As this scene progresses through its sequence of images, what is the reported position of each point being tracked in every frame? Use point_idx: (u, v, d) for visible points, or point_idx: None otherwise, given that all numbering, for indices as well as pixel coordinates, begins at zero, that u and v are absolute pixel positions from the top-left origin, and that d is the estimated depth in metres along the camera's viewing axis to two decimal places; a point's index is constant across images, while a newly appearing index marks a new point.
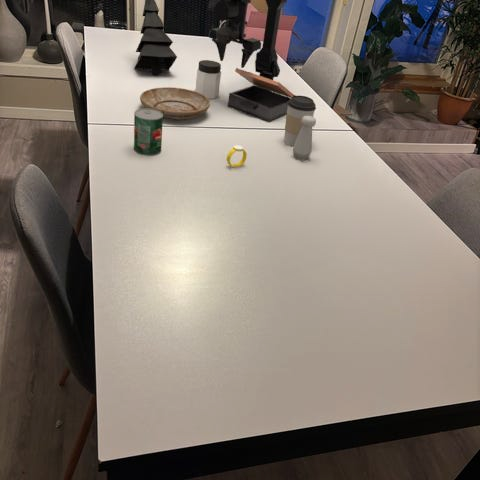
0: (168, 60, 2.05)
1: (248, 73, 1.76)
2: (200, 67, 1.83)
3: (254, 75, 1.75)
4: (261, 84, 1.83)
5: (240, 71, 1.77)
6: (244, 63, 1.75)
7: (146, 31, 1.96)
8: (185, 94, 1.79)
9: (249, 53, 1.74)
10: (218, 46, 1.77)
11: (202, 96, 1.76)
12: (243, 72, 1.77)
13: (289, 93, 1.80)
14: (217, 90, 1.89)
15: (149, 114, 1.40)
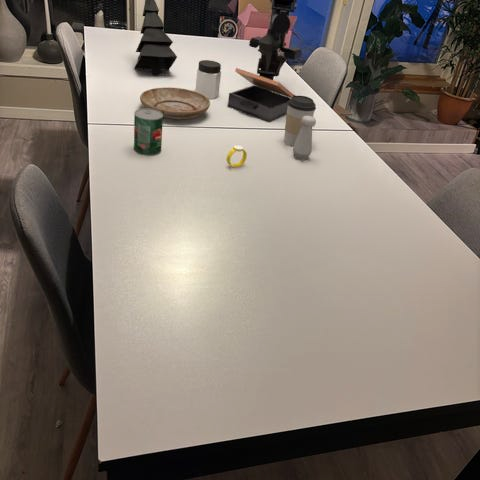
0: (168, 60, 2.05)
1: (248, 73, 1.76)
2: (200, 67, 1.83)
3: (254, 75, 1.75)
4: (261, 84, 1.83)
5: (240, 71, 1.77)
6: (278, 69, 1.79)
7: (146, 31, 1.96)
8: (185, 94, 1.79)
9: (283, 59, 1.78)
10: (264, 56, 1.79)
11: (202, 96, 1.76)
12: (243, 72, 1.77)
13: (289, 93, 1.80)
14: (217, 90, 1.89)
15: (149, 114, 1.40)
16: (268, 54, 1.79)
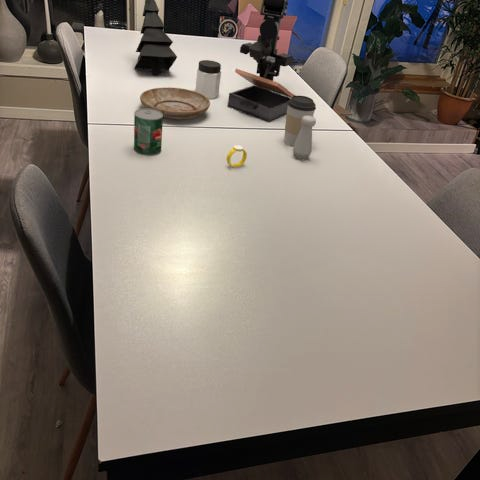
0: (168, 60, 2.05)
1: (248, 74, 1.76)
2: (200, 67, 1.83)
3: (254, 75, 1.75)
4: (261, 84, 1.83)
5: (240, 72, 1.77)
6: (265, 75, 1.77)
7: (146, 31, 1.96)
8: (185, 94, 1.79)
9: (270, 65, 1.75)
10: (259, 64, 1.75)
11: (202, 96, 1.76)
12: (242, 73, 1.77)
13: (289, 93, 1.80)
14: (217, 90, 1.89)
15: (149, 114, 1.40)
16: None
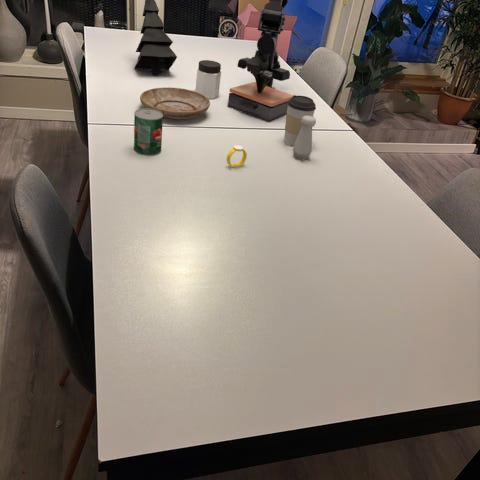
0: (168, 60, 2.05)
1: (242, 94, 1.78)
2: (200, 67, 1.83)
3: (248, 95, 1.77)
4: None
5: (234, 92, 1.79)
6: (262, 89, 1.79)
7: (146, 31, 1.96)
8: (185, 94, 1.79)
9: (267, 79, 1.78)
10: (256, 79, 1.77)
11: (202, 96, 1.76)
12: (237, 93, 1.79)
13: (287, 100, 1.81)
14: (217, 90, 1.89)
15: (149, 114, 1.40)
16: (261, 76, 1.78)
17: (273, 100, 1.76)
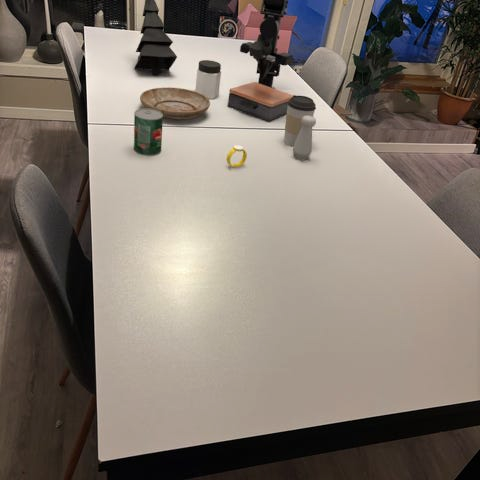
0: (168, 60, 2.05)
1: (242, 94, 1.78)
2: (200, 67, 1.83)
3: (248, 96, 1.77)
4: None
5: (234, 92, 1.79)
6: (265, 74, 1.77)
7: (146, 31, 1.96)
8: (185, 94, 1.79)
9: (270, 64, 1.75)
10: (259, 63, 1.75)
11: (202, 96, 1.76)
12: (236, 93, 1.79)
13: (287, 100, 1.81)
14: (217, 90, 1.89)
15: (149, 114, 1.40)
16: None
17: (273, 100, 1.76)
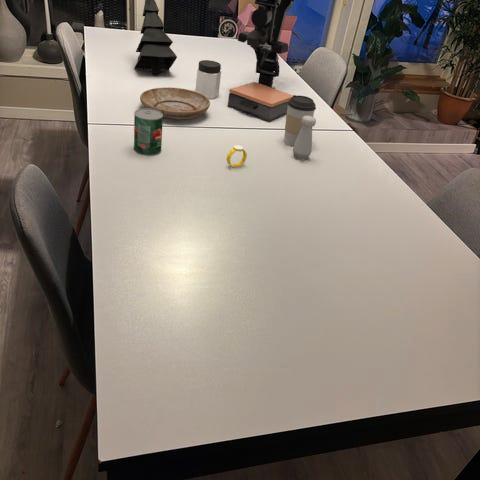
0: (168, 60, 2.05)
1: (242, 94, 1.78)
2: (200, 67, 1.83)
3: (248, 96, 1.77)
4: None
5: (234, 92, 1.79)
6: (262, 62, 1.86)
7: (146, 31, 1.96)
8: (185, 94, 1.79)
9: (266, 52, 1.84)
10: (256, 52, 1.84)
11: (202, 96, 1.76)
12: (236, 93, 1.79)
13: (287, 100, 1.81)
14: (217, 90, 1.89)
15: (149, 114, 1.40)
16: None
17: (273, 100, 1.76)
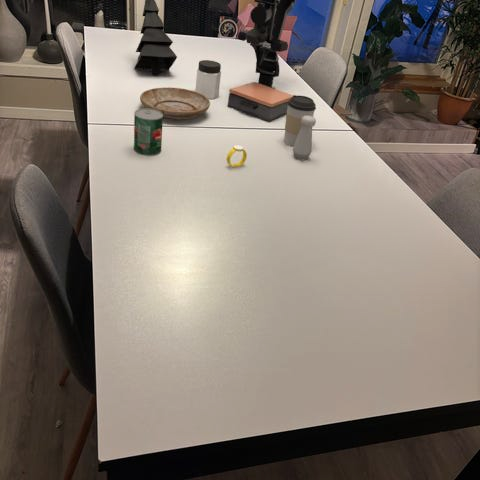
0: (168, 60, 2.05)
1: (242, 94, 1.78)
2: (200, 67, 1.83)
3: (248, 96, 1.77)
4: None
5: (234, 92, 1.79)
6: (261, 60, 1.86)
7: (146, 31, 1.96)
8: (185, 94, 1.79)
9: (266, 51, 1.85)
10: (256, 50, 1.84)
11: (202, 96, 1.76)
12: (236, 93, 1.79)
13: (287, 100, 1.81)
14: (217, 90, 1.89)
15: (149, 114, 1.40)
16: (260, 48, 1.85)
17: (273, 100, 1.76)
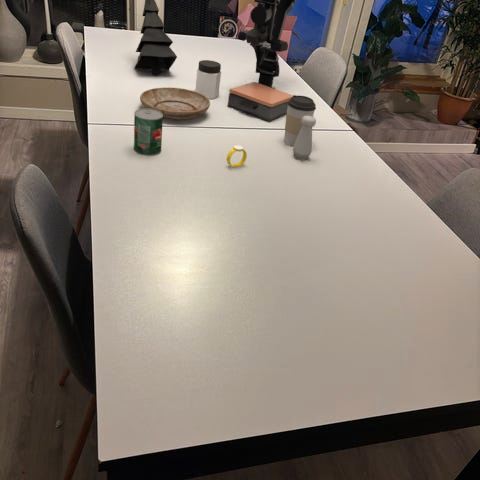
0: (168, 60, 2.05)
1: (242, 94, 1.78)
2: (200, 67, 1.83)
3: (248, 96, 1.77)
4: None
5: (234, 92, 1.79)
6: (261, 60, 1.86)
7: (146, 31, 1.96)
8: (185, 94, 1.79)
9: (266, 51, 1.85)
10: (256, 50, 1.84)
11: (202, 96, 1.76)
12: (236, 93, 1.79)
13: (287, 100, 1.81)
14: (217, 90, 1.89)
15: (149, 114, 1.40)
16: (260, 48, 1.85)
17: (273, 100, 1.76)
